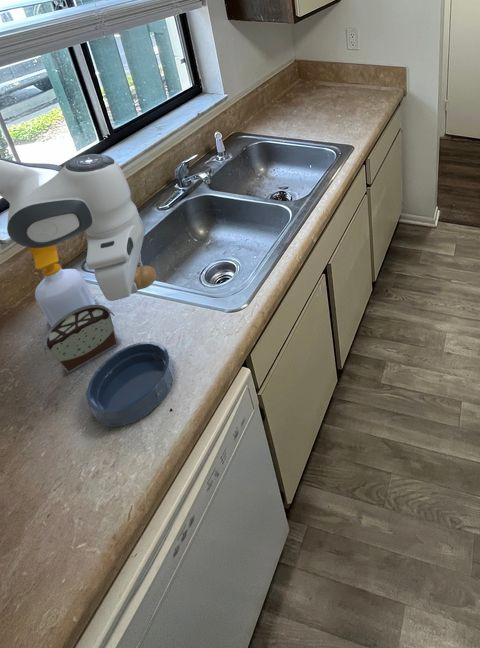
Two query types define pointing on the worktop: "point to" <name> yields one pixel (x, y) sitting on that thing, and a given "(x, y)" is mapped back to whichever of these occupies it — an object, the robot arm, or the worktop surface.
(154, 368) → the bowl
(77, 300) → the soap bottle
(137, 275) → the potato
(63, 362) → the cake slice
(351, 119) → the worktop surface
